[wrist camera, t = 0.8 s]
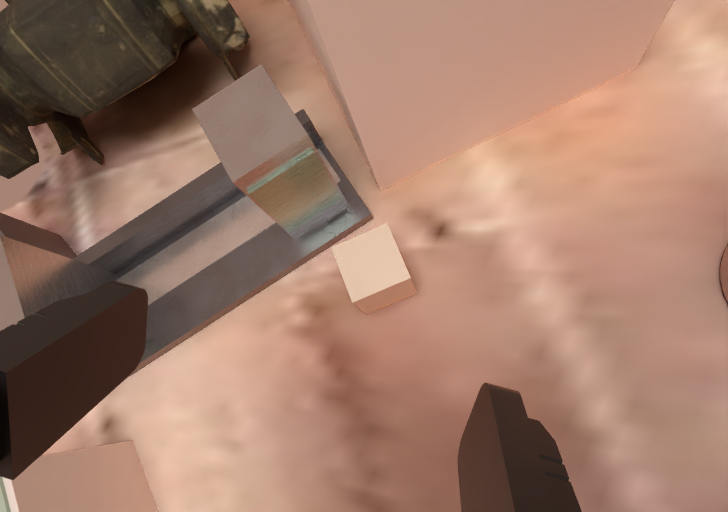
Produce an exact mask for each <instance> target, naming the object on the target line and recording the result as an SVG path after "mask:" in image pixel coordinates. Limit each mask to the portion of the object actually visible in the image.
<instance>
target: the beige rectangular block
mask: <svg viewBox="0 0 728 512" xmlns="http://www.w3.org/2000/svg"><path fill="white" fill-rule="evenodd" d="M331 248H332V251H333V254H334V256H335V259H336V262H337V264H338V267H339V269H340V272H341V275H342V277H343V280H344V283H345V285H346V288H347V291H348V293H349V296H350V298H351V301H352V303H353V304H354V305H355V306H357V307H358V308H359V309H360V310H361V311H363V312H364V313H365V314H366V315H367V314H370V313H372V312H375V311H377V310H379V309H382V308H384V307H386V306H389V305H391V304H393V303H396V302H398V301H401V300H403V299H405V298H408V297H410V296H412V295H415V294H417V292H416V289H415V287H414V284H413V282H412V279H411V277H410V274H409V272H408V270H407V268H406V265H405V263H404V261H403V258H402V256H401V254H400V252H399V249H398V247H397V245H396V242H395V240H394V238H393V235H392V233H391V231H390V229H389V226H388V224H387V223H386V224H384V225H381V226H379V227H377V228H374V229H372V230H370V231H368V232H365V233H363V234H361V235H358V236H356V237H354V238H351V239H349V240H347V241H345V242H342V243H340V244H338V245H335V246H333V247H331Z"/></svg>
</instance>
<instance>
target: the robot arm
mask: <svg viewBox="0 0 728 512" xmlns="http://www.w3.org/2000/svg"><path fill="white" fill-rule="evenodd" d="M720 280H721V284H722V288H723V292H724V296H725V298H726V300H727V302H728V246H727V248H726V249H725V251H724V254H723V258H722V261H721V265H720ZM147 310H148V294H147V292H146V290H145V289H143V288H139V287H136V286H132V285H128V284H124V283H121V282H117V281H108V282H106V283H104V284H103V285H101V286H99V287H97V288H95V289H94V290H92V291H90V292H88V293H86V294H84V295H83V294H81V295H78V296H74V297H70V298H67V299H63V300H59V301H56V302H54V303H52V304H50V305H48V306H46V307H44V308H42V309H41V310H39V311H37V312H35V314H34V315H29V316H27V317H25V318H24V319H22V320H20V321H18V323H17V324H16V325H15V324H12V325H10V326H9V327H7V328H5V329H3V330H1V331H0V477H4V478H7V479H10V480H14V479H15V478H17V477H18V476H19V475H20V474H21V473H22V472H23V471H24V470H25V469H26V468H28V467H29V466H30V465H31V464H32V463H33V462H34V461H35V460H36V459H38V458H39V457H40V456H41V455H42V454H43V453H44V452H45V451H46V450H47V449H49V448H50V447H51V446H52V445H53V444H54V443H55V442H56V441H57V440H58V439H60V438H61V437H62V436H63V435H64V434H65V433H66V432H67V431H68V430H70V429H71V428H72V427H73V426H74V425H75V424H76V423H77V422H78V421H79V420H81V419H82V418H83V417H84V416H85V415H86V414H87V413H88V412H89V411H90V410H92V409H93V408H94V407H95V406H96V405H97V404H98V403H99V402H100V401H102V400H103V399H104V398H105V397H106V396H107V395H108V394H109V393H110V392H111V391H113V390H114V389H115V388H116V387H117V386H118V385H119V384H120V383H121V382H122V381H124V380H125V379H126V378H127V377H128V376H129V375H130V374H131V373H132V372H133V371H134V370H135V369H136V368H137V366H138V365H139V363H140V361H141V359H142V356H143V354H144V350H145V343H146V327H147ZM458 472H459V485H460V497H461V510H462V512H581V509H580V506H579V503H578V501H577V498H576V495H575V493H574V490H573V487H572V485H571V482H569V481H568V480H569V477H568V474H567V471H566V469H565V466H564V465H563V464H562V458H561V455H560V453H559V450H558V447H557V445H556V442H555V440H554V439H553V438H552V436H551V435H550V434H549V433H548V431H547V430H546V429H545V428H544V426H543V425H542V424H541V423H540V422H539V421H537V420H534V419H530V418H528V417H527V414H526V410H525V407H524V404H523V401H522V398H521V395H520V393H519V392H518V391H514V390H511V389H507V388H503V387H500V386H496V385H492V384H489V383H484V384H483V385H482V387H481V389H480V391H479V393H478V396H477V399H476V401H475V404H474V406H473V409H472V412H471V414H470V417H469V420H468V422H467V425H466V428H465V430H464V433H463V436H462V439H461V443H460V447H459V454H458Z"/></svg>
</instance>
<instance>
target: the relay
mask: <svg viewBox="0 0 728 512" xmlns="http://www.w3.org/2000/svg"><path fill="white" fill-rule="evenodd" d="M0 235H1V236H4V237H7V238H10V239H13V240H16V241H19V242H22V243H25V244H28V245H31V246H34V247H37V248H40V249H43V250H46V251H49V252H52V253H55V254H58V255H61V256H64V257H68V258H71V259H73V258H75V257H77V256H76V255H75V253H74V252H73V251H72V250H71V248H70V247H69V246H68V245H67V243H66V242H65V241H64V239H63V238H62V237H61V236H60V235H57V234H55V233H52V232H49V231H47V230H44V229H41V228H39V227H36V226H34V225H31V224H28V223H26V222H23V221H21V220H18V219H15V218H13V217H10V216H7V215H5V214H2V213H0Z"/></svg>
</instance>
